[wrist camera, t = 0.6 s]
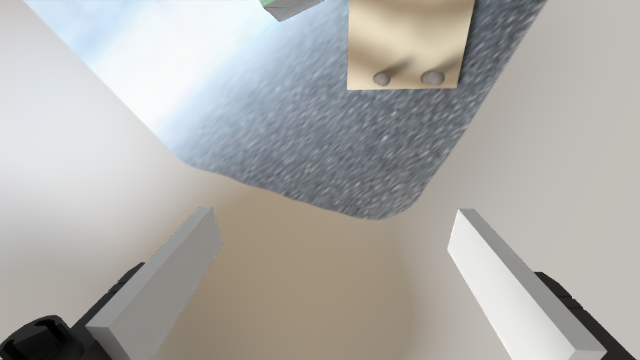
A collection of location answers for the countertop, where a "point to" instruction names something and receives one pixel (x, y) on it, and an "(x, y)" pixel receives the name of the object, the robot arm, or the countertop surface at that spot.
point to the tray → (406, 43)
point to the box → (287, 7)
